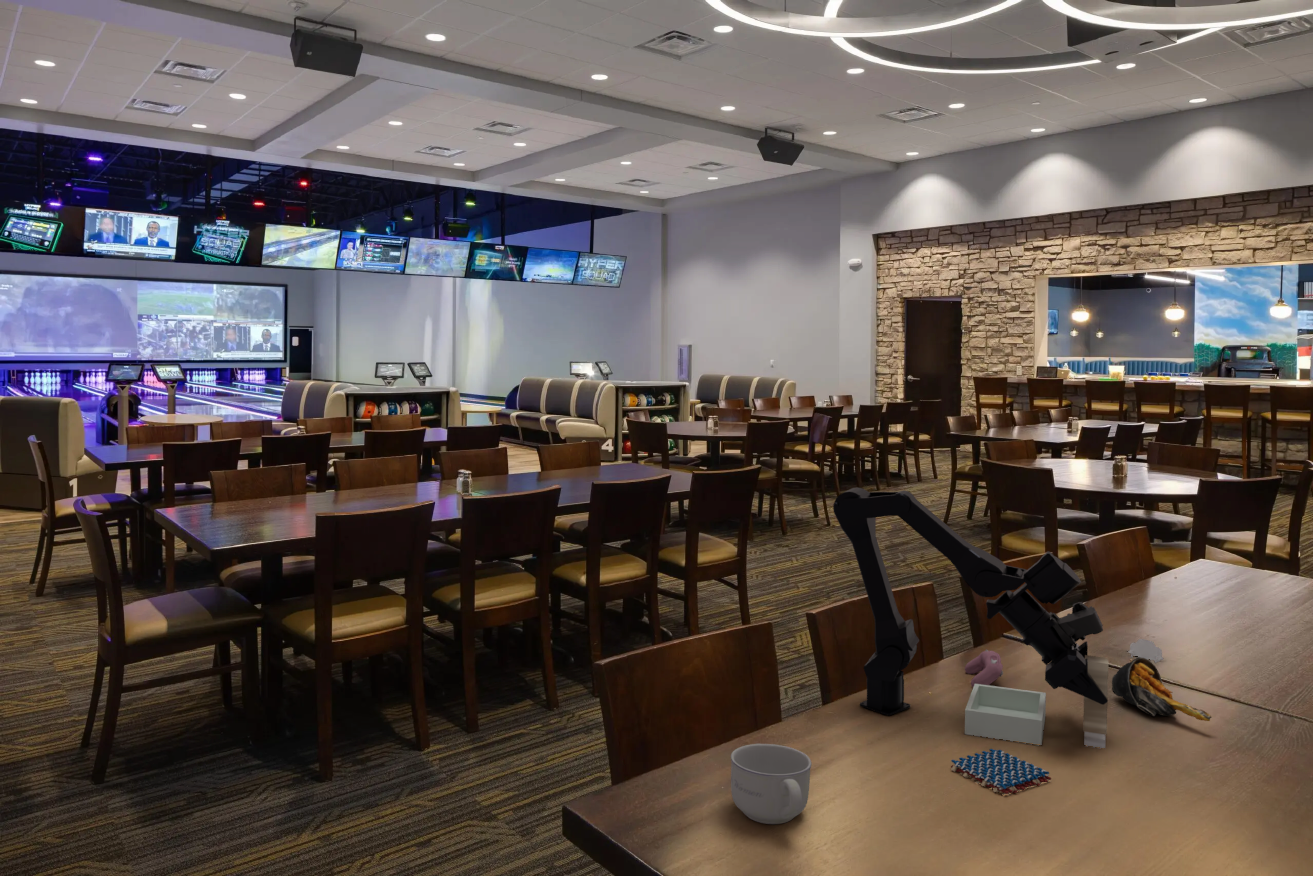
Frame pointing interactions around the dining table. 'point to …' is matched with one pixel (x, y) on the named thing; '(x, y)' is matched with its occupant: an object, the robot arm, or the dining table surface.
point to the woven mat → (1000, 771)
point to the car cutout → (1146, 650)
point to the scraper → (1096, 704)
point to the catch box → (1006, 714)
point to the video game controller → (985, 668)
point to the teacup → (770, 782)
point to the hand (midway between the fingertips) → (1105, 696)
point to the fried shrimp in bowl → (1149, 690)
